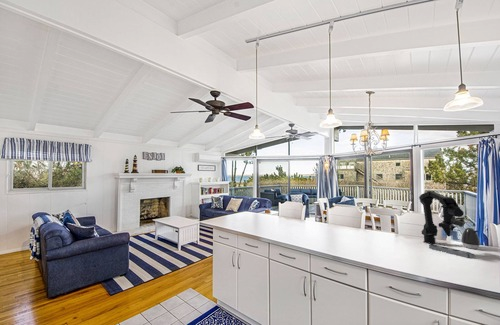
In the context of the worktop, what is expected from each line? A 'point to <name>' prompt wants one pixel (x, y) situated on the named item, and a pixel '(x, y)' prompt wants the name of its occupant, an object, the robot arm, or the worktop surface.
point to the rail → (452, 251)
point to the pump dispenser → (470, 238)
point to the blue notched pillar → (452, 233)
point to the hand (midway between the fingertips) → (449, 236)
